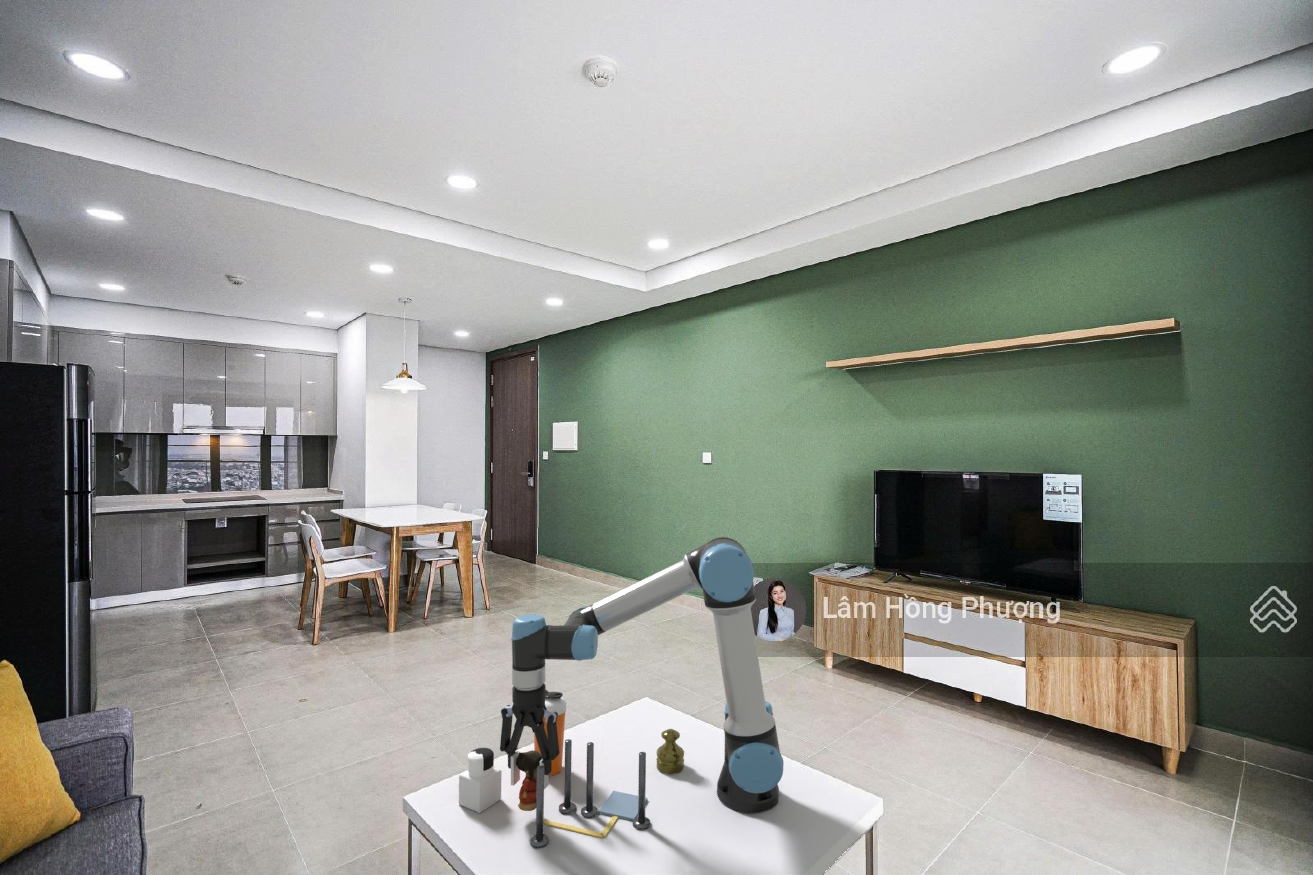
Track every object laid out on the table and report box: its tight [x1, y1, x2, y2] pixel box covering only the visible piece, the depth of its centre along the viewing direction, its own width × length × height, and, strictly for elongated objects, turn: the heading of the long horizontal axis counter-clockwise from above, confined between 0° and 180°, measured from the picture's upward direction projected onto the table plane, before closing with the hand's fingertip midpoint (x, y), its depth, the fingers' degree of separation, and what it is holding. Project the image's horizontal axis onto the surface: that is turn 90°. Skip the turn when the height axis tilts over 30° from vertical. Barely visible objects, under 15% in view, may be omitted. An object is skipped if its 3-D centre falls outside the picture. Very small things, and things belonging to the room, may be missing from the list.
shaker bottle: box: [533, 689, 567, 777], centre depth 164 cm, size 9×9×20 cm
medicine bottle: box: [458, 747, 502, 814], centre depth 149 cm, size 7×7×12 cm
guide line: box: [543, 816, 619, 839], centre depth 142 cm, size 16×8×1 cm, turn 71°
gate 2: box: [580, 741, 651, 831], centre depth 143 cm, size 17×4×16 cm, turn 71°
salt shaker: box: [656, 728, 685, 775], centre depth 166 cm, size 7×7×10 cm
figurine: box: [516, 749, 542, 812], centre depth 142 cm, size 6×6×12 cm
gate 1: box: [529, 738, 577, 849], centre depth 140 cm, size 4×17×16 cm, turn 161°
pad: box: [598, 790, 648, 822], centre depth 147 cm, size 9×9×1 cm
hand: (529, 784), depth 142 cm, fingers closed on figurine, 7 cm apart
